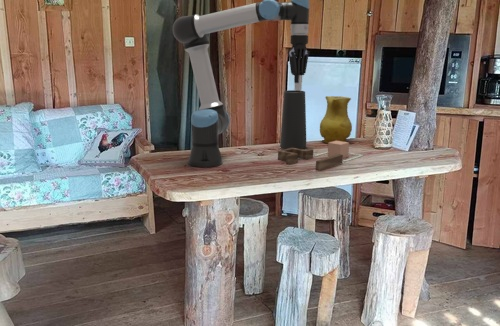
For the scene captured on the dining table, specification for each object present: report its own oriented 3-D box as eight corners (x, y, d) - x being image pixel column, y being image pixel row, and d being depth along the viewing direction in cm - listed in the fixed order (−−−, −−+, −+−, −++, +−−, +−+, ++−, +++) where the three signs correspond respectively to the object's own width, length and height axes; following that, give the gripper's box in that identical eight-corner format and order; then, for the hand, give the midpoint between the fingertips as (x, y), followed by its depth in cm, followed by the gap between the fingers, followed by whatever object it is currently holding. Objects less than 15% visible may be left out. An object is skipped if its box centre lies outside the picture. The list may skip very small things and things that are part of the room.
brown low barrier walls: (272, 160, 224) (272, 152, 223) (296, 154, 236) (296, 146, 236) (319, 170, 207) (319, 161, 206) (342, 163, 219) (342, 154, 219)
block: (327, 157, 232) (328, 142, 230) (335, 154, 237) (336, 140, 235) (340, 159, 227) (340, 144, 226) (348, 156, 232) (349, 142, 231)
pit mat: (285, 159, 226) (285, 158, 226) (293, 157, 231) (293, 156, 231) (293, 161, 223) (293, 160, 223) (301, 159, 227) (301, 158, 227)
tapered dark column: (293, 151, 243) (295, 93, 236) (274, 147, 253) (275, 91, 246) (311, 147, 252) (313, 91, 245) (292, 143, 262) (294, 89, 255)
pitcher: (311, 141, 267) (316, 95, 261) (332, 138, 279) (337, 94, 274) (336, 146, 255) (342, 98, 249) (357, 143, 267) (363, 98, 261)
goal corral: (314, 156, 233) (314, 155, 233) (333, 150, 245) (333, 150, 245) (344, 162, 222) (345, 161, 222) (363, 156, 234) (363, 155, 234)
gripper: (297, 34, 201) (295, 91, 207) (315, 34, 211) (313, 89, 216) (283, 34, 206) (281, 90, 212) (301, 35, 216) (299, 88, 221)
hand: (297, 90), depth 214 cm, fingers closed
